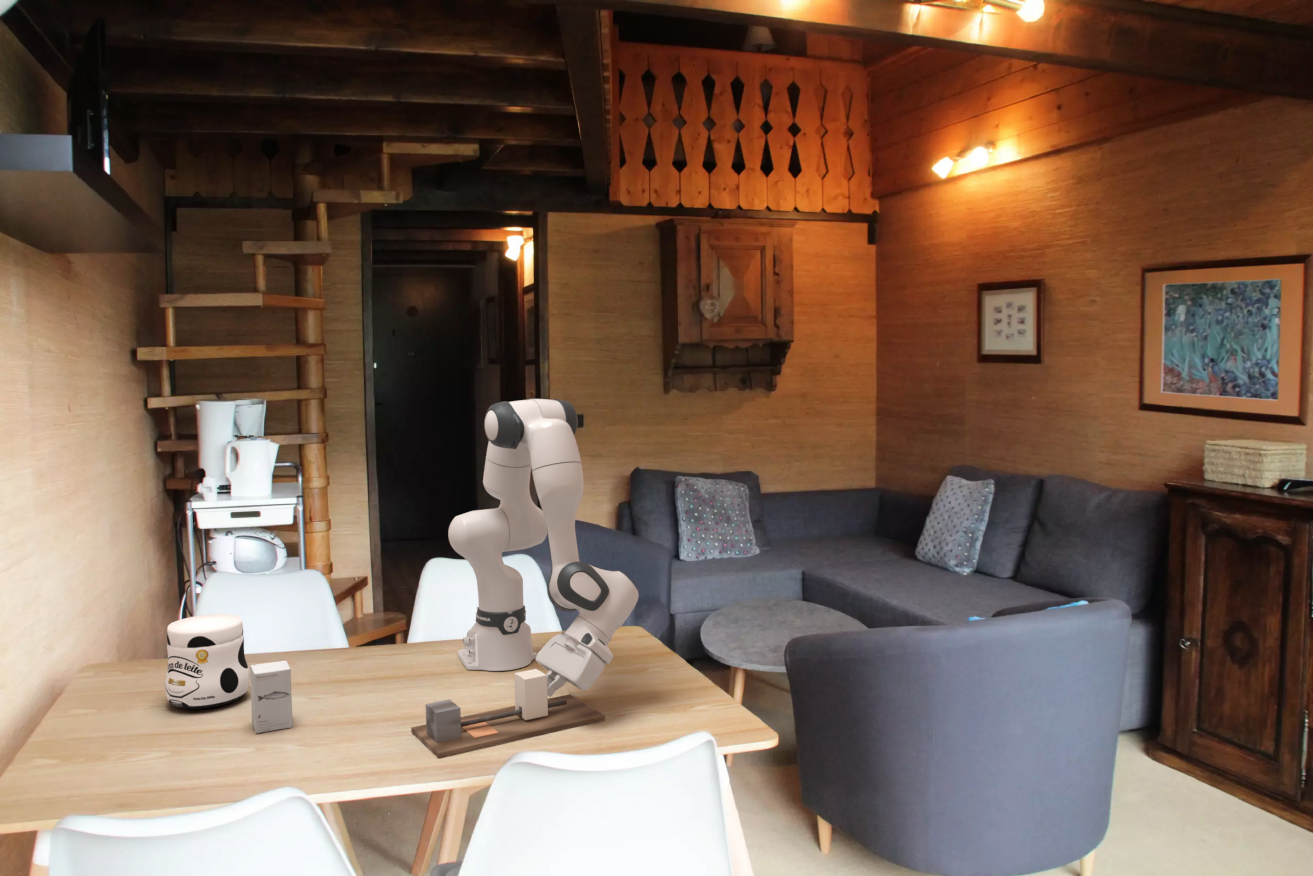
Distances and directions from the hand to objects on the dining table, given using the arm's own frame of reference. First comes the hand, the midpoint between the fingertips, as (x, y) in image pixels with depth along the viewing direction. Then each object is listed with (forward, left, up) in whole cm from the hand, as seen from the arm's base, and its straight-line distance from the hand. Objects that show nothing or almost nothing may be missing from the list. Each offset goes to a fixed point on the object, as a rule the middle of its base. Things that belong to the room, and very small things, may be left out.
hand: (544, 693), depth 207 cm
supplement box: (-28, -49, -6) cm, 57 cm away
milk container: (-52, -58, -6) cm, 78 cm away
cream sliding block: (0, -3, -4) cm, 5 cm away
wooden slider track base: (0, -8, -5) cm, 10 cm away
